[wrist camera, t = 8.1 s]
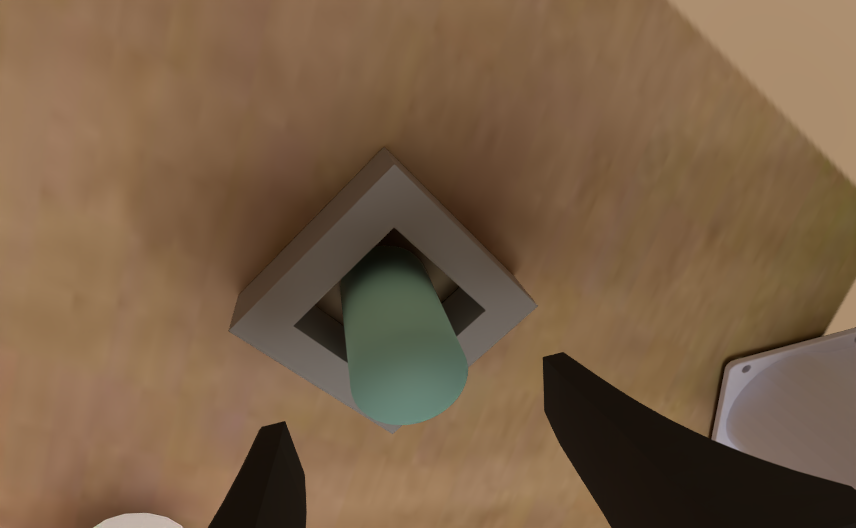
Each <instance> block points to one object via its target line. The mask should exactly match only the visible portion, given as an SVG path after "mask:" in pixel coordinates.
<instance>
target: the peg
mask: <svg viewBox="0 0 856 528" xmlns="http://www.w3.org/2000/svg"><path fill="white" fill-rule="evenodd" d="M340 291H341V301H342V311H343V320H344V330H345V340H346V349H347V359H348V369H349V378H350V388H351V393H352V397H353V399H354V401H355V403H356V405H357V406H358V407H359V409H360V410H361V411H362V412H363V413H365V414H366V415H367V416H369V417H370V418H372V419H374V420H376V421H379V422H382V423H386V424H391V425H409V424H415V423H419V422H423V421H426V420H428V419H431V418H433V417H435V416H437V415H438V414H440V413H442V412H443V411H445V410H446V409H447V408H448V407H449V406H451V405H452V404H453V403H454V402H455V400H456V399H457V398H458V397H459V395H460V394H461V392H462V390H463V388H464V386H465V383H466V380H467V376H468V364H467V360H466V357H465V354H464V352H463V350H462V348H461V346H460V343H459V341H458V339H457V337H456V335H455V333H454V330H453V328H452V326H451V324H450V322H449V320H448V317H447V315H446V313H445V311H444V309H443V307H442V304H441V302H440V300H439V298H438V296H437V293H436V291H435V289H434V287H433V285H432V283H431V280H430V278H429V276H428V274H427V272H426V270H425V267H424V265H423V264H422V262H421V261H420V260H419V259H418V257H416V256H415V255H414V254H413V253H411V252H410V251H408V250H406V249H403V248H400V247H396V246H378V247H374V248H372V249H371V250H370V251H369V252H368V253H367V254H366V255H365V256H364V257H363V258H362V259H361V260H360V261H359V262H358V263H357V264H356V265H355V266H354V267H353V268H352V269H351V270H350V271H349V272H348V273H347V274H346V275H345V276H344V277H343V278H342V279H341V284H340Z"/></svg>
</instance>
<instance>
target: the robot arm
mask: <svg viewBox="0 0 856 528" xmlns="http://www.w3.org/2000/svg"><path fill="white" fill-rule="evenodd" d="M543 380H544V411H545V414H546V416H547V418H548V420H549V422H550V424H551V427H552V429H553V431H554V433H555V435H556V437H557V439H558V441H559V443H560V445H561V447H562V448H563V450H564V452H565V453H566V455H567V457H568V458H569V460H570V461H571V463H572V465H573V466H574V468H575V469H576V471H577V473H578V474H579V476H580V477H581V479H582V481H583V482H584V484H585V485H586V487H587V488H588V490H589V492H590V493H591V495H592V496H593V498H594V500H595V501H596V503H597V504H598V506H599V508H600V509H601V511H602V512H603V514H604V516H605V517H606V519H607V521H608V523H609V524H610V526H611V528H856V328H853V329H848V330H845V331H841V332H837V333H833V334H830V335H826V336H822V337H818V338H815V339H811V340H807V341H803V342H800V343H796V344H792V345H789V346H785V347H781V348H777V349H774V350H770V351H766V352H762V353H759V354H755V355H751V356H747V357H744V358H740V359H736V360H733V361H731V362H729V363H728V364H727V365H726V367H725V371H724V376H723V382H722V387H721V392H720V397H719V402H718V407H717V413H716V418H715V423H714V428H713V433H712V438H711V439H710V438H707V437H705V436H703V435H701V434H698V433H696V432H694V431H692V430H690V429H688V428H686V427H684V426H682V425H680V424H678V423H676V422H674V421H672V420H670V419H668V418H666V417H664V416H662V415H660V414H659V413H657V412H655V411H653V410H652V409H650V408H648V407H646V406H645V405H643V404H641V403H639V402H638V401H636V400H634V399H633V398H631V397H629V396H628V395H626V394H625V393H623V392H622V391H620V390H618V389H617V388H615V387H614V386H612V385H611V384H609V383H608V382H606V381H605V380H603V379H602V378H600V377H599V376H597V375H596V374H594V373H593V372H591V371H590V370H588V369H587V368H586V367H584V366H583V365H581V364H580V363H578V362H577V361H575V360H574V359H572V358H571V357H570V356H568V355H567V354H565V353H564V352H562V353H558V354H554V355H550V356H546V357H543ZM306 513H307V512H306V489H305V474H304V471H303V468H302V466H301V463H300V460H299V457H298V455H297V452H296V449H295V447H294V444H293V441H292V438H291V436H290V433H289V430H288V428H287V425H286V422H285V421H284V422H280V423H276V424H272V425H268V426H264V427H261V429H260V430H259V432H258V434H257V436H256V438H255V440H254V442H253V445H252V447H251V449H250V451H249V453H248V455H247V457H246V459H245V461H244V463H243V465H242V467H241V469H240V471H239V473H238V475H237V477H236V479H235V481H234V482H233V484H232V486H231V488H230V490H229V492H228V494H227V496H226V497H225V499H224V501H223V503H222V505H221V506H220V508H219V510H218V511H217V513H216V515H215V516H214V518H213V520H212V521H211V523H210V525H209V526H208V528H306Z"/></svg>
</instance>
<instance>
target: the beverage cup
mask: <svg viewBox="0 0 856 528" xmlns="http://www.w3.org/2000/svg"><path fill="white" fill-rule="evenodd" d="M94 528H183V527H182V526H181V525H180V524H178V523H176V522H174V521H173V520H171V519H169V518H167V517H164V516H159V515H155V514H150V513H131V514H123V515H119V516H116V517H113V518H109V519H106V520H104V521H102V522H101V523H100V524H98V525H97V526H95V527H94Z"/></svg>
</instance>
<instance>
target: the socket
mask: <svg viewBox="0 0 856 528" xmlns="http://www.w3.org/2000/svg"><path fill="white" fill-rule="evenodd" d="M393 228H395V229H397V230H398V231H399V232H400V233H401V234H402V235H403V236H404V237H405V238H407V239H408V240H409V241H410V242H411V243H412V244H413V245H414V246H415V247H416V248H418V249H419V250H420V251H421V252H422V253H423V254H424V255H425V256H426V257H428V258H429V259H430V260H431V261H432V262H433V263H434V264H435V265H436V266H437V267H439V268H440V269H441V270H442V271H443V272H444V273H445V274H446V275H447V276H449V277H450V278H451V279H452V280H453V281H454V282H455V283H456V284H457V285H458V286H460V287H459V288H458V289H457V290H456V291H455V292H454V293H453V294H452V295H451V296H449V297H448V298H447V299H446V300H445V301H444V302H443V303H442V307H443V309H444V311H445V313H446V315H447V317H448V320H449V322H450V324H451V326H452V328H453V330H454V333H455V335H456V337H457V339H458V341H459V343H460V346H461V348H462V350H463V352H464V354H465V357H466V360H467V364H468V367H469V366H470V365H472V364H473V363H474V362H475V361H476V360H477V359H478V358H480V357H481V356H482V355H483V354H484V353H485V352H486V351H488V350H489V349H490V348H491V347H492V346H493V345H494V344H496V343H497V342H498V341H499V340H500V339H501V338H502V337H503V336H505V335H506V334H507V333H508V332H509V331H510V330H511V329H513V328H514V327H515V326H516V325H517V324H518V323H519V322H521V321H522V320H523V319H524V318H525V317H526V316H527V315H528V314H530V313H531V312H532V311H533V310H534V309H535V308H536V307H538V305H537V304H536V303H535V302H534V300H533V299H532V298H531V297H530V295H529V294H528V293H527V292H526V290H525V289H524V288H523V287H522V285H521V284H520V283H519V282H518V280H517V279H516V278H515V277H514V276H513V275H512V274H511V273H510V272H509V271H508V270H507V269H506V268H505V267H504V266H503V265H502V264H501V263H500V262H499V261H498V260H497V259H496V258H495V257H494V256H493V255H492V254H491V253H490V252H489V251H488V250H487V249H486V248H485V247H484V246H483V245H482V244H481V243H480V242H479V241H478V240H477V239H476V238H475V237H474V236H473V235H472V234H471V233H470V232H469V231H468V230H467V229H466V228H465V227H464V226H463V225H462V224H461V223H460V222H459V221H458V220H457V219H456V218H455V217H454V216H453V215H452V214H451V213H450V212H449V211H448V210H447V209H446V208H445V207H444V206H443V205H442V204H441V203H440V202H439V201H438V200H437V199H436V198H435V197H434V196H433V195H432V194H431V193H430V192H429V191H428V190H427V189H426V188H425V187H424V186H423V185H422V184H421V183H420V182H419V181H418V180H417V179H416V178H415V177H414V176H413V175H412V174H411V173H410V172H409V171H408V170H407V169H406V168H405V167H404V166H403V165H402V164H401V163H400V162H399V161H398V160H397V159H396V158H395V157H394V156H393V155H392V154H391V153H390V152H389V151H388V150H387V149H386V148H385V147H383V148H382V149H381V150H380V151H379V152H378V154H377V155H376V156H375V157H374V158H373V159H372V160H371V161H370V162H369V163H368V164H367V165H366V166H365V167H364V168H363V169H362V170H361V171H360V172H359V173H358V174H357V175H356V176H355V177H354V178H353V179H352V180H351V181H350V182H349V183H348V184H347V185H346V186H345V187H344V188H343V189H342V190H341V191H340V192H339V193H338V194H337V195H336V196H335V197H334V198H333V199H332V200H331V201H330V202H329V203H328V205H327V206H326V207H325V208H324V209H323V210H322V211H321V212H320V213H319V214H318V215H317V216H316V217H315V218H314V219H313V220H312V221H311V222H310V223H309V224H308V225H307V226H306V227H305V228H304V229H303V230H302V231H301V232H300V233H299V234H298V235H297V236H296V237H295V238H294V239H293V240H292V241H291V242H290V243H289V244H288V245H287V246H286V247H285V248H284V249H283V250H282V251H281V252H280V253H279V254H278V255H277V257H276V258H275V259H274V260H273V261H272V262H271V263H270V264H269V265H268V266H267V267H266V268H265V269H264V270H263V271H262V272H261V273H260V274H259V275H258V276H257V277H256V278H255V279H254V280H253V281H252V282H251V283H250V284H249V285H248V286H247V287H246V288H245V289H244V290H243V291H242V292H241V293H240V294H239V295H238V299H237V302H236V306H235V310H234V313H233V317H232V321H231V324H230V328H229V332H231V333H232V334H234V335H235V336H237V337H239V338H240V339H242V340H243V341H245V342H247V343H248V344H250V345H251V346H253V347H255V348H256V349H258V350H259V351H261V352H263V353H264V354H266V355H267V356H269V357H271V358H272V359H274V360H275V361H277V362H279V363H280V364H282V365H283V366H285V367H287V368H288V369H290V370H291V371H293V372H294V373H296V374H298V375H299V376H301V377H302V378H304V379H306V380H307V381H309V382H310V383H312V384H314V385H315V386H317V387H318V388H320V389H322V390H323V391H325V392H326V393H328V394H330V395H331V396H333V397H334V398H336V399H338V400H339V401H341V402H342V403H344V404H345V405H347V406H349V407H350V408H352V409H353V410H355V411H357V412H358V413H360V414H361V415H363V416H365V417H366V418H368V419H369V420H371V421H373V422H374V423H376V424H377V425H379V426H381V427H382V428H384V429H385V430H387V431H389V432H390V433H392V434H393V433H394V432H395V431H397V430H398V429H399V428H400V427H401V426H402V425H391V424H386V423H382V422H379V421H376V420H374V419H372V418H370V417H369V416H367V415H366V414H365V413H363V412H362V411H361V410H360V409H359V407H358V406H357V405H356V403H355V401H354V399H353V397H352V393H351V388H350V378H349V369H348V359H347V349H346V340H345V330H344V326H342V325H341V324H340V323H338V322H337V321H335V320H334V319H333V318H331V317H330V316H328V315H327V314H326V313H324V312H323V311H322V310H320V309H319V308H317V307H316V306H315V304H316V303H317V302H318V301H319V300H320V299H321V298H322V297H323V296H324V295H325V294H326V293H327V292H328V291H329V290H330V289H331V288H332V287H333V286H334V285H336V284H337V283H338V282H339V281H340V280H341V279H342V278H343V277H344V276H345V275H346V274H347V273H348V272H349V271H350V270H351V269H352V268H353V267H354V266H355V265H356V264H357V263H358V262H359V261H360V260H361V259H362V258H363V257H364V256H365V255H366V254H367V253H368V252H369V251H370V250H371V249H372V248H373V247H374V246H375V245H376V244H377V243H379V242H380V241H381V240H382V239H383V238H384V237H385V236H386V235H387V234H388V233H389V232H390V231H391V230H392V229H393Z"/></svg>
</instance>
